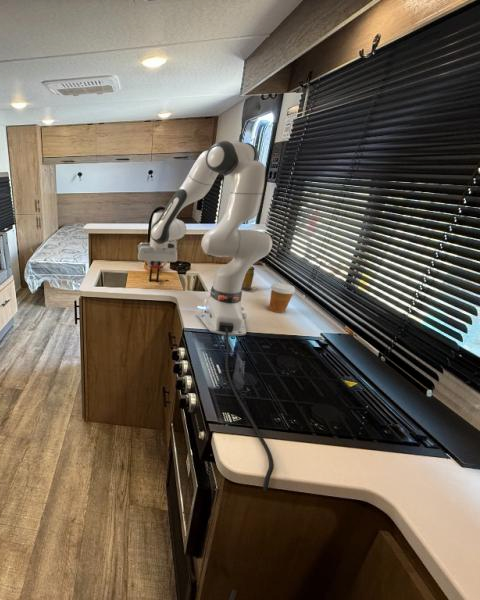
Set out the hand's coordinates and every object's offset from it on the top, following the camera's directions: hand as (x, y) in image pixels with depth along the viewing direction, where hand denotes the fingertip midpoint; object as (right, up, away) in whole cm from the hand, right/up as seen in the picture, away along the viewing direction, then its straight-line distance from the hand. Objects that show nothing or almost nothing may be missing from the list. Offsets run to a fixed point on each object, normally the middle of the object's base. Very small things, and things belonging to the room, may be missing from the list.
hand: (156, 268), depth 163 cm
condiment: (+51, -10, +6) cm, 53 cm away
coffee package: (+6, +1, +33) cm, 33 cm away
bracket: (+2, -7, +15) cm, 16 cm away
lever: (+1, +2, +5) cm, 6 cm away
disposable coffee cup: (+52, -22, -19) cm, 59 cm away
